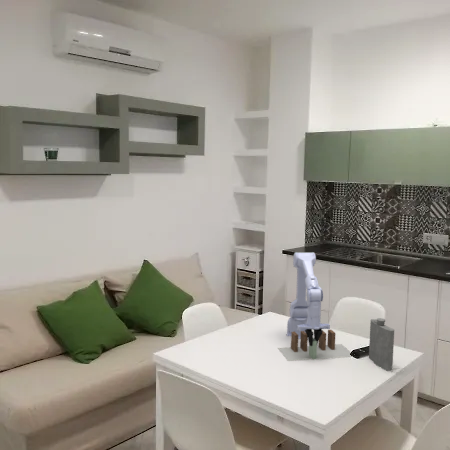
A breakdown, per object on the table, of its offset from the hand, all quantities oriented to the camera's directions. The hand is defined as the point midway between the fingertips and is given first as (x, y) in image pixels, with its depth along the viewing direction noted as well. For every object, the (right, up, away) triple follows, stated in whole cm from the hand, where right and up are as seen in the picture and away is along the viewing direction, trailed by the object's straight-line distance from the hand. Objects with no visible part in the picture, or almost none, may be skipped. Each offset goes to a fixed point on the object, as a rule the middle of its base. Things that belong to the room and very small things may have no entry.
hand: (313, 345), depth 227 cm
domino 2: (-3, -4, +9) cm, 11 cm away
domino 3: (+6, -4, +11) cm, 13 cm away
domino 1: (-7, -4, +9) cm, 12 cm away
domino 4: (+11, -4, +12) cm, 16 cm away
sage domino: (0, -5, +1) cm, 5 cm away
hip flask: (+28, -7, -5) cm, 29 cm away
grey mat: (+2, -5, +6) cm, 8 cm away
